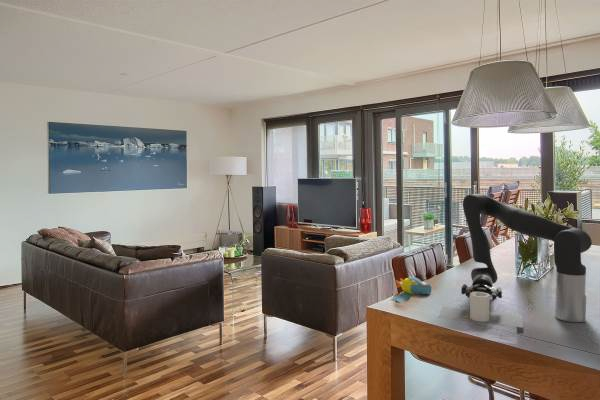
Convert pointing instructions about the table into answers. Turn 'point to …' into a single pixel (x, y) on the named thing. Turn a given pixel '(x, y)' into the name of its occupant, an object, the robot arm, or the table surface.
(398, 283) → the blue and yellow toy
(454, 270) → the table surface
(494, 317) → the shaft board
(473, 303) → the keyed collar
